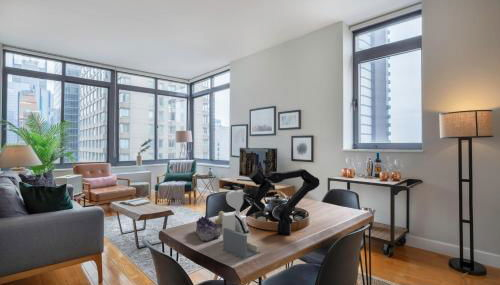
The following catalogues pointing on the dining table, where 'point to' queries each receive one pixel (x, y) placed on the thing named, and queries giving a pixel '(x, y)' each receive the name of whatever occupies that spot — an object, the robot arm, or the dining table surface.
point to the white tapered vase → (228, 221)
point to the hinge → (240, 224)
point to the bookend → (238, 244)
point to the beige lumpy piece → (219, 218)
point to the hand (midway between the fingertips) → (242, 213)
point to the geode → (207, 229)
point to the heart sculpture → (235, 200)
